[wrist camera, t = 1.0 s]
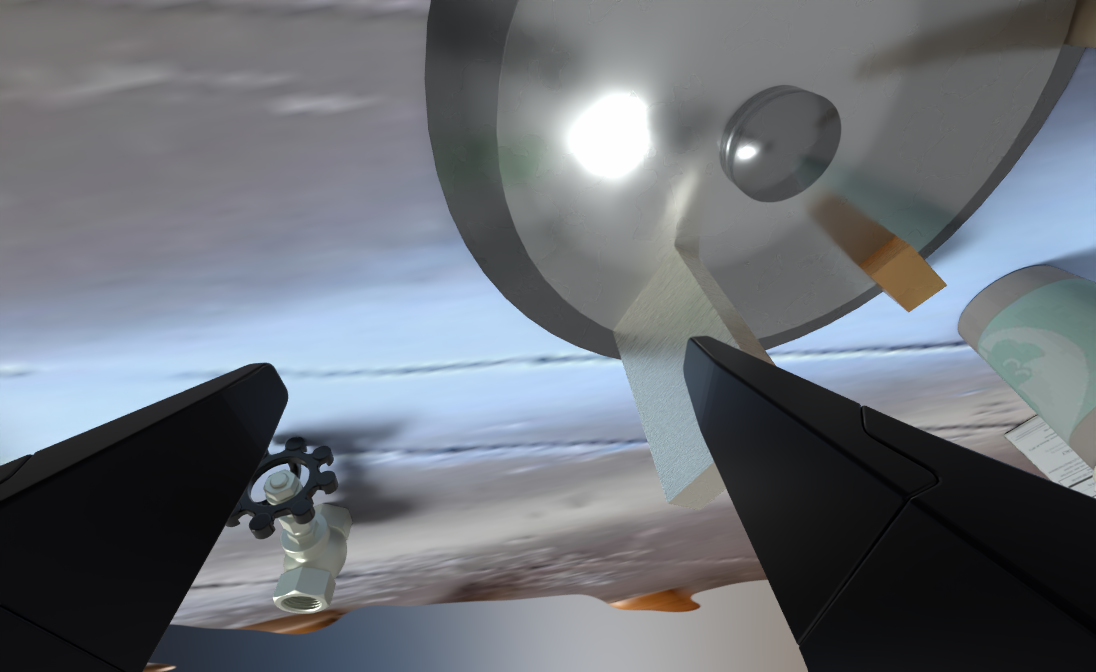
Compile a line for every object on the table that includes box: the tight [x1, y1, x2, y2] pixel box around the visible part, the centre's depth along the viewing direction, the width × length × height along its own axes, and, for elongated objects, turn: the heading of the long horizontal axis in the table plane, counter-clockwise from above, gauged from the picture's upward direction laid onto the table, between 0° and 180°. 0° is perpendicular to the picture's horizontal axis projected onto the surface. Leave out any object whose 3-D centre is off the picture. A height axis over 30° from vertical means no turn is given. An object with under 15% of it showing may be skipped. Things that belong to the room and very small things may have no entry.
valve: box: [226, 437, 352, 613], centre depth 31 cm, size 7×7×12 cm
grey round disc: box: [425, 0, 1086, 360], centre depth 20 cm, size 28×28×1 cm
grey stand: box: [497, 0, 1077, 510], centre depth 15 cm, size 22×24×11 cm
